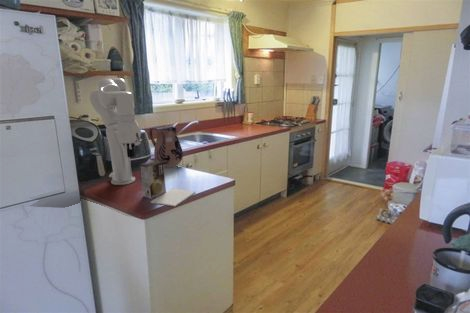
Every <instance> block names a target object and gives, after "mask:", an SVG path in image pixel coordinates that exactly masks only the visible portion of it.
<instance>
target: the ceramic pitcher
mask: <svg viewBox="0 0 470 313" xmlns="http://www.w3.org/2000/svg"><path fill="white" fill-rule="evenodd" d="M153 130H154V131H156V132H157V135H156V140H155V139H154V135H153ZM148 135H149V139H150V142H151V143H152V146H153V147H154V150H153V153H154V154H153V156H154V160H157V161H160V162H163V168H173V167H177V166H178V165H179V164H180V163H181V162H182V161H183V155H184V153H183V147H182V146H181V145H182V144H181V143H180V139H179V137H178V135H177V127H176V126H174V125H172V124H171V125H161V126H152V127H151V128H150V129H149V130H148Z"/></svg>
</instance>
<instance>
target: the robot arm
mask: <svg viewBox="0 0 470 313" xmlns="http://www.w3.org/2000/svg"><path fill="white" fill-rule="evenodd" d="M96 87H97V88H96V89H94V90H92V91H90V94H89V100H90V101H89V102H90V103H91V106H92V108H93V109H94V111H96V113H97V114H98V115H99V116H100V118H101V121H102V123H103V125H104V126H105V128H106V129H105V134H106V138H107V142H108V146H109V151H110V158H111V167H112V172H110V174H109V175H108V177H109V178H112V179H111V180H110V182H111V185H115V186H116V185H117V186H123V185H130V184H132V183H134V182H135V181H136V177H135V176H133V174H132V164H131V158H133V157H135V156H136V155H135V148H136V146H139V145H140V139H141V136H142V130H141V127H140V125H139V123H138V121H137V120H136V114H135V106H134V105H135V104H134V97H133V93H132V92H130V91H127V84H126V81H125V79H123V78H121V77H107V78H102V79H100V80H99V81H98V82H97V86H96ZM115 108H116V109H115ZM116 110H117V111H116Z"/></svg>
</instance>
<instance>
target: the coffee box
mask: <svg viewBox="0 0 470 313" xmlns="http://www.w3.org/2000/svg"><path fill="white" fill-rule="evenodd" d="M139 168H140V177H141V186H142V193H143V197H145V198H148V199H150V200H153V199H156V198H158V197H159V196H161V195H163V194H164V193H166V192H167V187H166V181H165V180H166V178H165V170H164V168H165V167H163V162H160V161H157V160H155V159H154V160H150V161H147V162H143V163H140V164H139Z"/></svg>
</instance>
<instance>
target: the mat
mask: <svg viewBox="0 0 470 313" xmlns="http://www.w3.org/2000/svg"><path fill="white" fill-rule="evenodd" d="M196 192H197V191H194V190H188V189H187V190H186V189H179V188H171V189H170V190H168V191H166V193H164V194H163V195H160V196H157V197H155V198H153V199H152V200H151V201H150V203H151V204H155V203H156V205H161V204H162V206H168V207H169V206H170V207H174V208H175V207H177V206H178V205H180V204H182V203H183V202H184V201H186V200H187V199H188V198H190V197H191V196H193V195H194V194H196Z"/></svg>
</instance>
